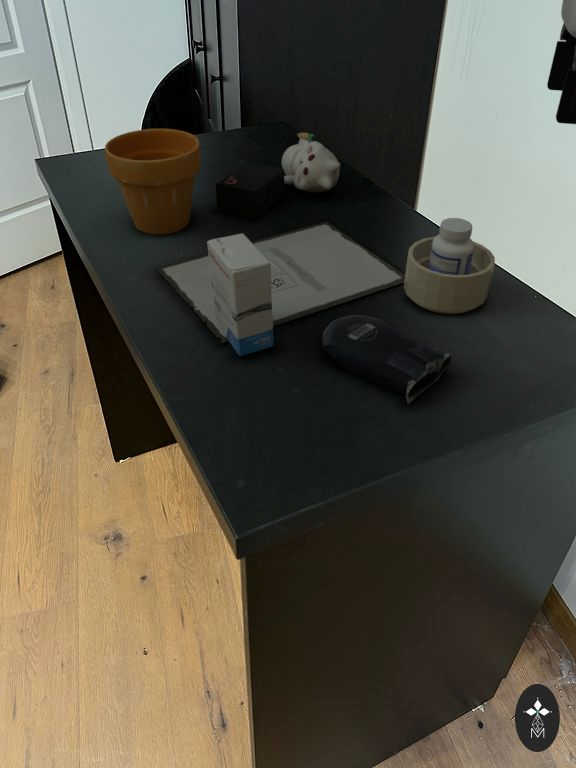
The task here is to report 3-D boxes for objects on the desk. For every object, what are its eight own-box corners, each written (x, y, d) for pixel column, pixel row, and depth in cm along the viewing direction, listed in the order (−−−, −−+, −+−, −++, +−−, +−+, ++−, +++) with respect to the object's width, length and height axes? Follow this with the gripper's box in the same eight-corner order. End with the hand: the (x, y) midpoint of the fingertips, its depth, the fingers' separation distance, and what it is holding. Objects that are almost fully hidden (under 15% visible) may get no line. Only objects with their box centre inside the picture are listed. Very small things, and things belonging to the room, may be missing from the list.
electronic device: (284, 196, 116) (284, 168, 112) (256, 220, 108) (255, 191, 105) (247, 189, 118) (246, 161, 115) (217, 211, 111) (215, 183, 107)
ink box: (275, 348, 80) (274, 262, 72) (236, 358, 78) (231, 272, 71) (248, 312, 86) (245, 230, 78) (212, 321, 84) (205, 238, 77)
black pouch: (450, 377, 78) (355, 315, 85) (460, 345, 74) (359, 282, 80) (402, 422, 74) (306, 353, 80) (410, 391, 70) (307, 321, 76)
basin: (485, 279, 93) (494, 240, 90) (486, 321, 85) (495, 281, 81) (407, 270, 95) (412, 232, 92) (399, 311, 87) (404, 271, 83)
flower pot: (219, 232, 105) (213, 151, 96) (132, 250, 100) (118, 166, 92) (189, 199, 115) (181, 123, 106) (109, 214, 110) (94, 136, 102)
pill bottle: (449, 276, 92) (460, 211, 86) (473, 294, 89) (487, 228, 82) (417, 285, 90) (426, 219, 84) (440, 304, 87) (452, 237, 81)
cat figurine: (283, 123, 117) (330, 137, 107) (315, 140, 123) (364, 155, 112) (262, 174, 120) (307, 193, 109) (295, 189, 125) (341, 208, 114)
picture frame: (221, 344, 81) (411, 280, 93) (221, 342, 81) (411, 278, 93) (154, 269, 95) (326, 222, 107) (154, 267, 95) (326, 220, 107)
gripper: (728, -148, 39) (632, 142, 50) (667, -148, 52) (601, 81, 63) (595, -148, 40) (530, 134, 51) (568, -148, 53) (520, 77, 64)
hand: (569, 105), depth 57 cm, fingers open, 9 cm apart
